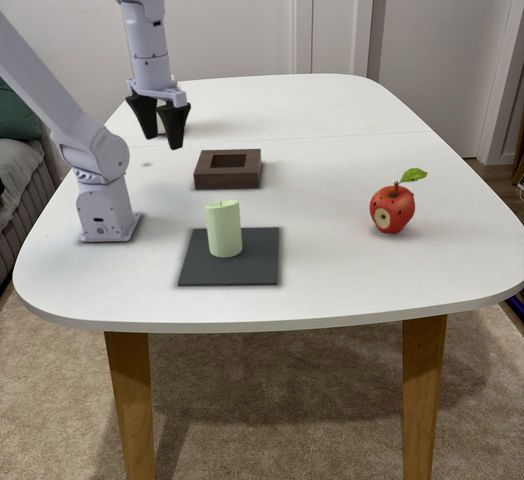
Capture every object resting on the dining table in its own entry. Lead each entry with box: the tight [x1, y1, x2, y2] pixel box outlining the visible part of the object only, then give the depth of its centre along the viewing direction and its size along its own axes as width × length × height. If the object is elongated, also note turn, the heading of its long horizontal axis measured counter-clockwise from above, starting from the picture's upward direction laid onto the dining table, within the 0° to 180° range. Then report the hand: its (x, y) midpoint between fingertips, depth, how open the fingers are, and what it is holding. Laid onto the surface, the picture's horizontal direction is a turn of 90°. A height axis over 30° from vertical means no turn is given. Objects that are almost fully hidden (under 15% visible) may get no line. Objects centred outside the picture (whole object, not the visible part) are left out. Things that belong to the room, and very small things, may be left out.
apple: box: [368, 167, 429, 236], centre depth 78 cm, size 8×7×10 cm
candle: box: [204, 199, 242, 258], centre depth 75 cm, size 5×5×8 cm
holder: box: [192, 148, 262, 190], centre depth 99 cm, size 12×12×3 cm
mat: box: [177, 226, 280, 287], centre depth 77 cm, size 16×14×1 cm
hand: (164, 143), depth 88 cm, fingers open, 7 cm apart
